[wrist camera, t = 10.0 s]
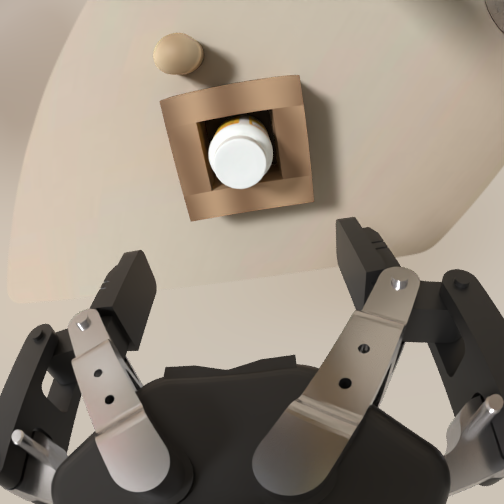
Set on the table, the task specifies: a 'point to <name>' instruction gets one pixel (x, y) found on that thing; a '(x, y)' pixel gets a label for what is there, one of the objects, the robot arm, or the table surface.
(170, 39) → the short dowel
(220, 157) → the supplement bottle
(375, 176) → the table surface
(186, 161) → the square wooden frame
